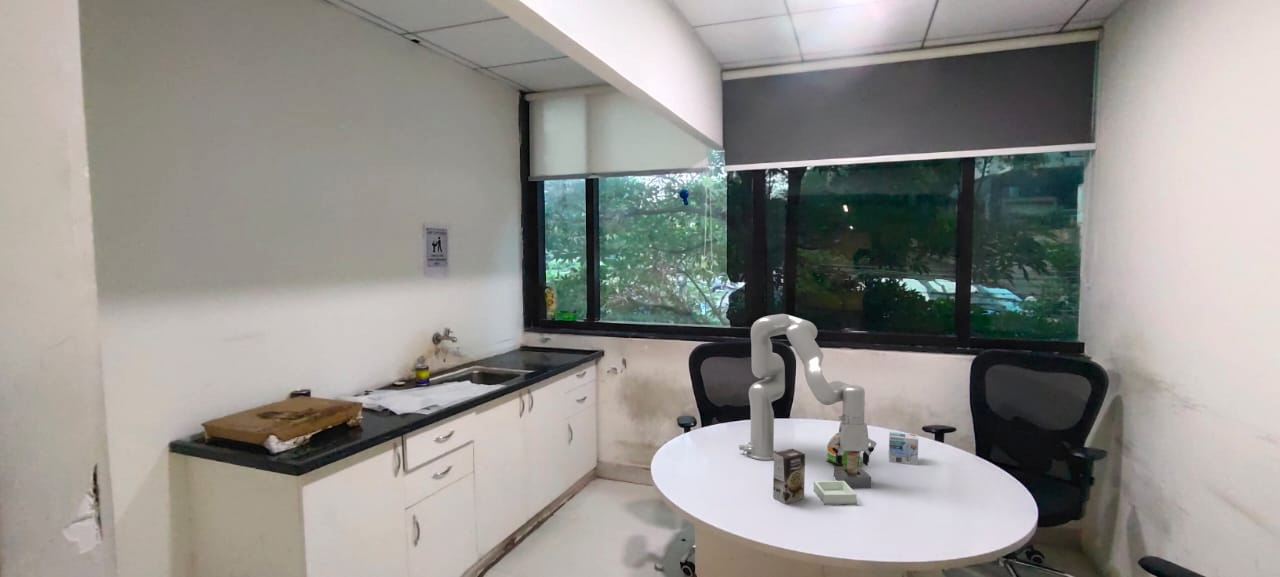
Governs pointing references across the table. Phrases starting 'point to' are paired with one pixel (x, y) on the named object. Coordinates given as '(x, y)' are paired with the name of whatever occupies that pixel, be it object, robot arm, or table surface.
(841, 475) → the hitch block
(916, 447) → the light bulb box
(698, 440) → the table surface
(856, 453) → the pin
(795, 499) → the coffee box
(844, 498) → the tray
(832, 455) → the turtle holder
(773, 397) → the robot arm
